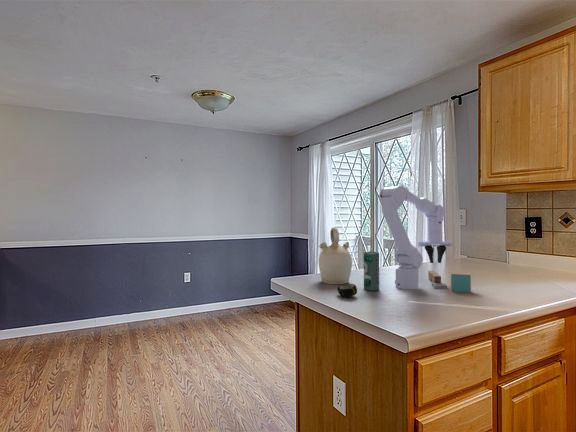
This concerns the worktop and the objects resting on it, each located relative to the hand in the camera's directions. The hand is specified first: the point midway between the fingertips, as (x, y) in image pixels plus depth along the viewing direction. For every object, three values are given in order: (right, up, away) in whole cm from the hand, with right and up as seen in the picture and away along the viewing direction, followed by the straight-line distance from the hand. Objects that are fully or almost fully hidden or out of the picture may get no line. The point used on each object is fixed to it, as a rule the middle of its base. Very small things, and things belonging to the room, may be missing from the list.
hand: (435, 262), depth 152 cm
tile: (+3, -9, -16) cm, 18 cm away
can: (-31, -10, -10) cm, 33 cm away
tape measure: (-41, -10, -19) cm, 46 cm away
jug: (-43, -10, +5) cm, 45 cm away
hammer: (0, -9, -1) cm, 9 cm away
